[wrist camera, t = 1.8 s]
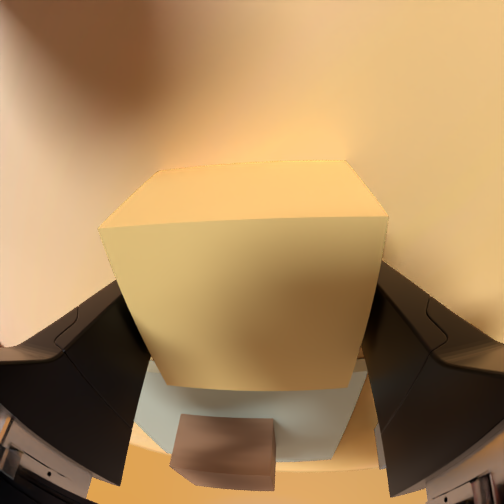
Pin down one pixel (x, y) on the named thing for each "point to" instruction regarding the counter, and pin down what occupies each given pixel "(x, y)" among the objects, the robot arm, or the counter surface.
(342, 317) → the brick ochre
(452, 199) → the counter surface
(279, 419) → the build plate
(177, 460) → the brick base
